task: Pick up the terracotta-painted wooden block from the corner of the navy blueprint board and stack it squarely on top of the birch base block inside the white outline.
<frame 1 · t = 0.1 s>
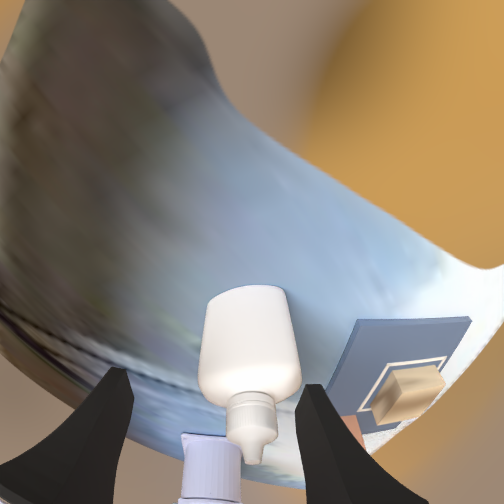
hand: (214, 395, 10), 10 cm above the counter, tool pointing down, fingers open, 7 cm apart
base block: (402, 385, 26), point 1 cm above the counter, touching blueprint board
blueprint board: (382, 387, 27), on the counter
top block: (334, 424, 28), point 1 cm above the counter, touching blueprint board
eye dropper bottle: (247, 302, 21), on the counter
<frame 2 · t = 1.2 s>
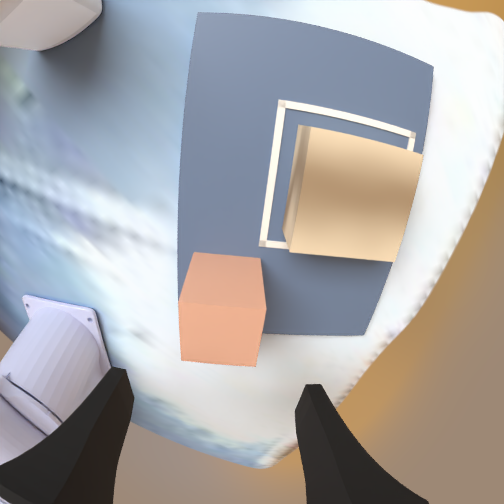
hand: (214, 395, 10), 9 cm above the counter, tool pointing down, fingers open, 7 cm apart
base block: (341, 185, 16), point 1 cm above the counter, touching blueprint board
blueprint board: (302, 194, 17), on the counter
top block: (224, 283, 18), point 1 cm above the counter, touching blueprint board
eye dropper bottle: (69, 21, 11), on the counter
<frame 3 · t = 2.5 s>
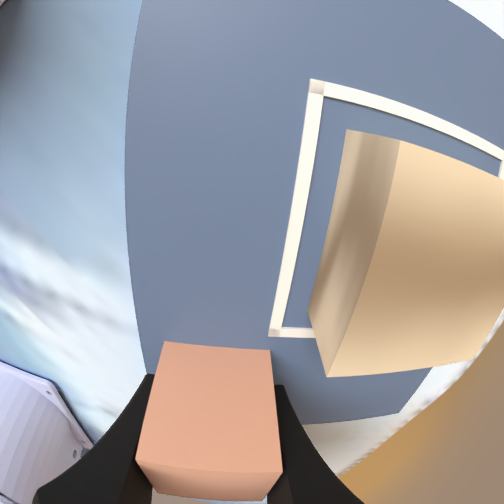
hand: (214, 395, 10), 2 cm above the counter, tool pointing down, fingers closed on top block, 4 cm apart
base block: (408, 239, 9), point 1 cm above the counter, touching blueprint board
blueprint board: (342, 250, 10), on the counter
top block: (215, 378, 11), point 1 cm above the counter, touching blueprint board, gripper
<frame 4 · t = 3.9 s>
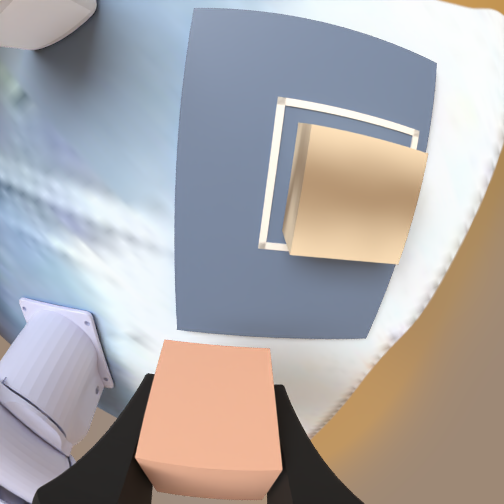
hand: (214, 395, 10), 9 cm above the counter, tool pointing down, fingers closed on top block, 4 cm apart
base block: (343, 185, 15), point 1 cm above the counter, touching blueprint board
blueprint board: (302, 194, 16), on the counter
top block: (215, 377, 11), point 8 cm above the counter, touching gripper
eye dropper bottle: (63, 20, 10), on the counter
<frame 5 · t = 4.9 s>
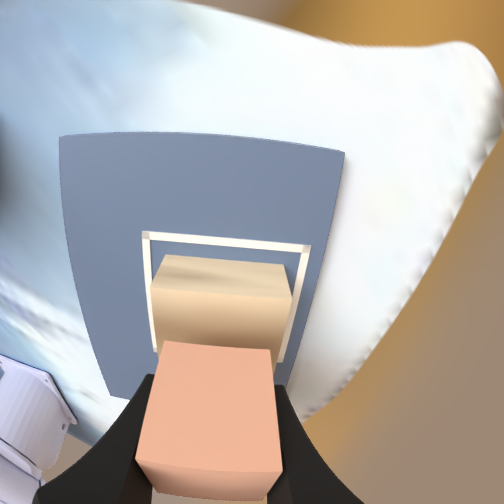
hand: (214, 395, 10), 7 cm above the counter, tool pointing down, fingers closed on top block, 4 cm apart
base block: (220, 307, 16), point 1 cm above the counter, touching blueprint board
blueprint board: (187, 309, 17), on the counter
top block: (215, 378, 11), point 6 cm above the counter, touching gripper
when the fingers open (6 cm above the counter, at t = 5.5 s): top block drops 1 cm, resting on base block.
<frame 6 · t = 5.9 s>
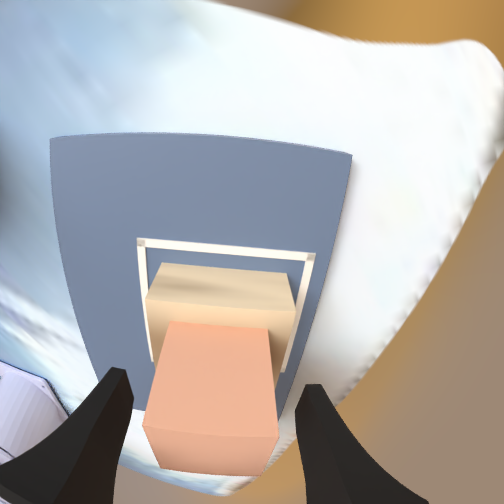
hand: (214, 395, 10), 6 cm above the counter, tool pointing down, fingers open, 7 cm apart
base block: (220, 317, 15), point 1 cm above the counter, touching blueprint board, top block
blueprint board: (185, 318, 16), on the counter
top block: (216, 358, 12), point 4 cm above the counter, touching base block
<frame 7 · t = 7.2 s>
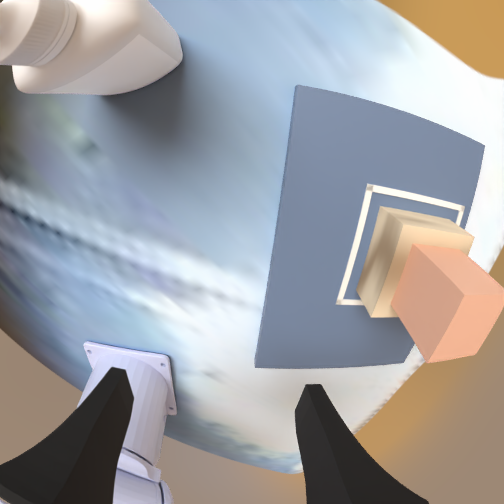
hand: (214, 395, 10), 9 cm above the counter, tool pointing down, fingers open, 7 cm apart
base block: (405, 254, 18), point 1 cm above the counter, touching blueprint board, top block
blueprint board: (372, 259, 19), on the counter
top block: (427, 276, 15), point 4 cm above the counter, touching base block
eye dropper bottle: (137, 63, 13), on the counter
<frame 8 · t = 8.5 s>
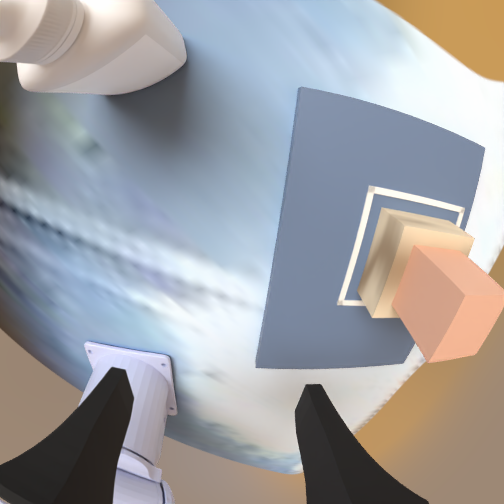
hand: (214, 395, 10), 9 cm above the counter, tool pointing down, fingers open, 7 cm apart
base block: (405, 255, 18), point 1 cm above the counter, touching blueprint board, top block
blueprint board: (373, 260, 19), on the counter
top block: (427, 277, 15), point 4 cm above the counter, touching base block
eye dropper bottle: (140, 63, 13), on the counter
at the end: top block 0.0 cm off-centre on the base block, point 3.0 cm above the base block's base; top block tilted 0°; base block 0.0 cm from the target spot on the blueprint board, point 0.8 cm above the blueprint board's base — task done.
